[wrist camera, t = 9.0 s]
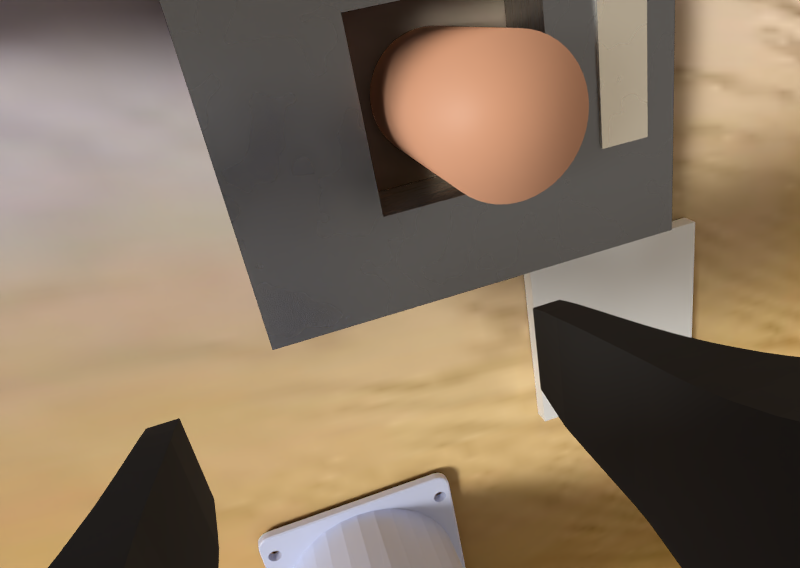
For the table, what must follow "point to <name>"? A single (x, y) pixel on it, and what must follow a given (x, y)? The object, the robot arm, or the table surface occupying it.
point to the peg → (483, 107)
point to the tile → (622, 286)
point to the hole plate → (420, 201)
